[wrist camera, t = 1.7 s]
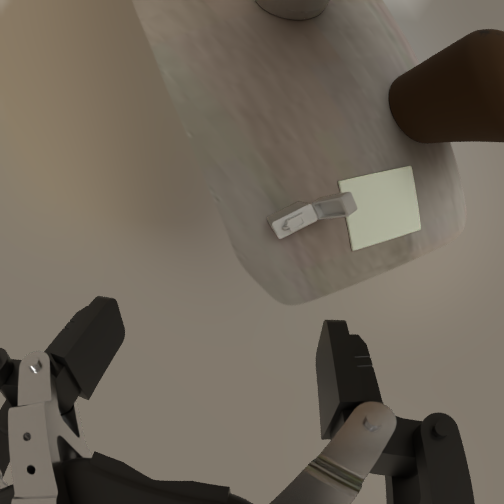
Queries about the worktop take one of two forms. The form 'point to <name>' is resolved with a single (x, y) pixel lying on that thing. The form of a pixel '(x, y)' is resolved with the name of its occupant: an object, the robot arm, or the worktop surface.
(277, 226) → the lighter
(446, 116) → the olive oil
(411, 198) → the mat
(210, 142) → the worktop surface
